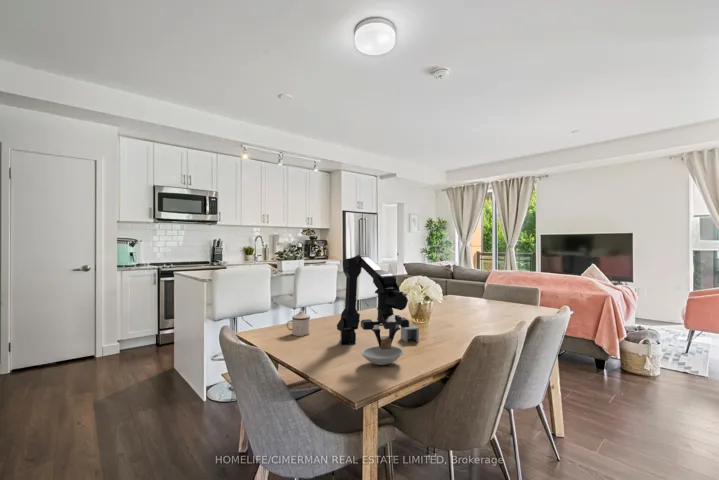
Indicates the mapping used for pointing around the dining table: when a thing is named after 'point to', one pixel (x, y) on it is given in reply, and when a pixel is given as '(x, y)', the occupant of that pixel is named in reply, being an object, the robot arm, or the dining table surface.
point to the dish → (382, 354)
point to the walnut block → (385, 342)
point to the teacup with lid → (300, 324)
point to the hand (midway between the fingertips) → (384, 345)
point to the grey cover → (410, 333)
